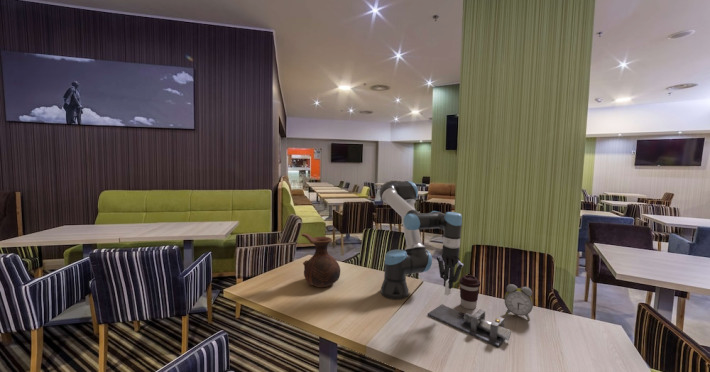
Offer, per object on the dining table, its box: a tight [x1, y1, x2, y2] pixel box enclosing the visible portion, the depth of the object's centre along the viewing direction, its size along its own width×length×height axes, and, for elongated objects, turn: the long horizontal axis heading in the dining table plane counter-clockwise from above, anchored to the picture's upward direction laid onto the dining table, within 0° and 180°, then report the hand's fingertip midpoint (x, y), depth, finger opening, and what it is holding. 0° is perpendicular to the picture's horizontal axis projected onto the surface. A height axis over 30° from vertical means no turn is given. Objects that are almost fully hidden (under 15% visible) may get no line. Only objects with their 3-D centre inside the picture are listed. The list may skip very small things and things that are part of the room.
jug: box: [301, 232, 341, 288], centre depth 170 cm, size 22×22×30 cm
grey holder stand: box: [427, 304, 506, 348], centre depth 130 cm, size 32×13×8 cm, turn 44°
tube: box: [464, 312, 512, 341], centre depth 124 cm, size 18×4×4 cm, turn 44°
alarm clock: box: [504, 283, 534, 321], centre depth 138 cm, size 12×7×15 cm, turn 62°
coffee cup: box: [458, 274, 481, 310], centre depth 147 cm, size 10×10×15 cm
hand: (447, 293), depth 137 cm, fingers closed
